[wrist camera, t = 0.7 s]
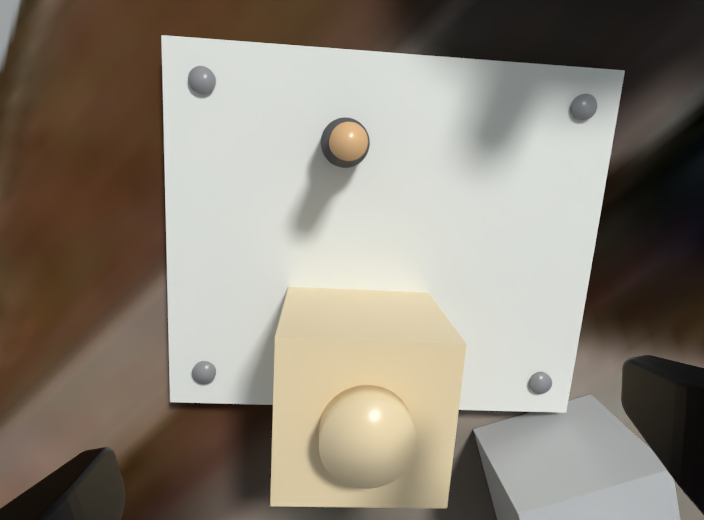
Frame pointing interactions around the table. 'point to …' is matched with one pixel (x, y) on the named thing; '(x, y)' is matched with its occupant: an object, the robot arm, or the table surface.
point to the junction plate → (380, 205)
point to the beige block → (364, 400)
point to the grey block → (573, 467)
